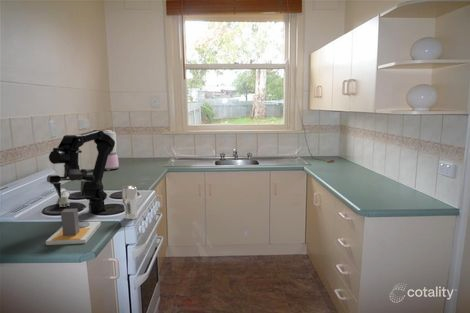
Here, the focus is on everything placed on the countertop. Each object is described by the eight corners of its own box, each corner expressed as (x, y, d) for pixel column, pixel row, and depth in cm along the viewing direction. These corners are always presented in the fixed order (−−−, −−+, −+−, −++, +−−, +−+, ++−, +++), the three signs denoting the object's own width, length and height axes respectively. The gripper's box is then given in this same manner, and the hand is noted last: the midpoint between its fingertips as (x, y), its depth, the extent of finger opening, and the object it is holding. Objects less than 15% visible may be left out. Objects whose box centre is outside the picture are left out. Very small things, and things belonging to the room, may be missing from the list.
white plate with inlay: (66, 225, 150) (66, 222, 150) (101, 224, 151) (100, 220, 151) (46, 244, 130) (45, 240, 130) (85, 243, 131) (85, 238, 131)
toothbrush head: (70, 189, 197) (68, 194, 175) (71, 200, 198) (69, 207, 175) (60, 190, 195) (57, 195, 173) (61, 201, 196) (58, 208, 173)
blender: (113, 167, 282) (110, 129, 276) (122, 168, 275) (119, 130, 269) (96, 170, 269) (93, 131, 263) (105, 172, 262) (102, 131, 256)
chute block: (67, 232, 138) (64, 208, 136) (79, 231, 139) (77, 208, 137) (63, 235, 134) (60, 212, 133) (75, 235, 135) (73, 211, 133)
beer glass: (129, 214, 164) (127, 184, 162) (141, 215, 162) (139, 185, 160) (120, 219, 158) (118, 188, 155) (133, 220, 156) (131, 189, 153)
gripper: (53, 164, 139) (53, 201, 139) (99, 163, 151) (98, 197, 152) (46, 162, 147) (46, 197, 147) (90, 162, 159) (89, 194, 160)
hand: (71, 197), depth 151 cm, fingers open, 9 cm apart
